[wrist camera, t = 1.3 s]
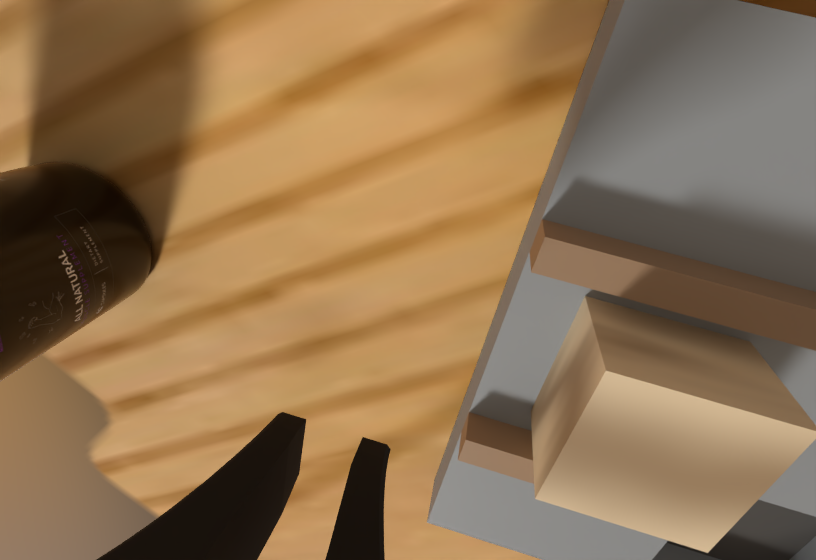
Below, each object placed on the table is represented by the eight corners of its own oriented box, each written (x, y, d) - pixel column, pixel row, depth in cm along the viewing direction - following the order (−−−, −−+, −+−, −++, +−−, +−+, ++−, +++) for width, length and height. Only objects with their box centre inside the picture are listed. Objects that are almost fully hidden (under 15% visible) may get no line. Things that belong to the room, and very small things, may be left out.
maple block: (669, 452, 18) (707, 553, 14) (530, 410, 18) (534, 499, 15) (750, 341, 15) (822, 433, 12) (584, 296, 15) (605, 370, 12)
